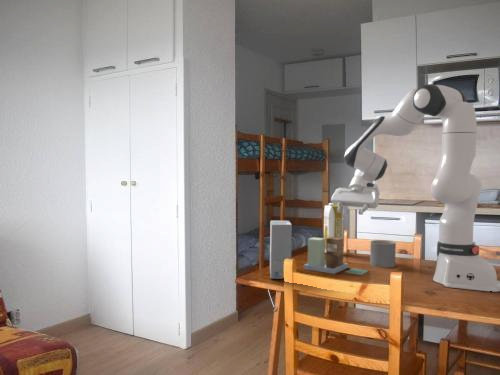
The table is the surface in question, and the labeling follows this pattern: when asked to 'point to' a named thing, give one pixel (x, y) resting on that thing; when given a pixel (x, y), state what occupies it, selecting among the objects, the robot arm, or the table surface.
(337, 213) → the juice carton
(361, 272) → the felt pad
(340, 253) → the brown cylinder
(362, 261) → the table surface
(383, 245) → the coffee mug
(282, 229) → the hard drive box
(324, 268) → the parts tray
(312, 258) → the sage box
